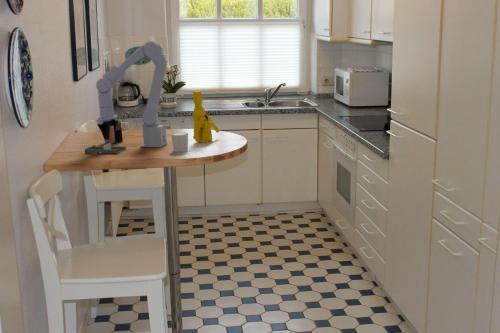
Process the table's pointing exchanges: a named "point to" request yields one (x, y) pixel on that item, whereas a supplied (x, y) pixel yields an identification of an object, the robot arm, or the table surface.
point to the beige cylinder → (180, 142)
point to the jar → (111, 136)
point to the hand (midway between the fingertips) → (109, 138)
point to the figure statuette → (202, 121)
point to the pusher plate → (107, 146)
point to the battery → (118, 133)
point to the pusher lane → (100, 149)
